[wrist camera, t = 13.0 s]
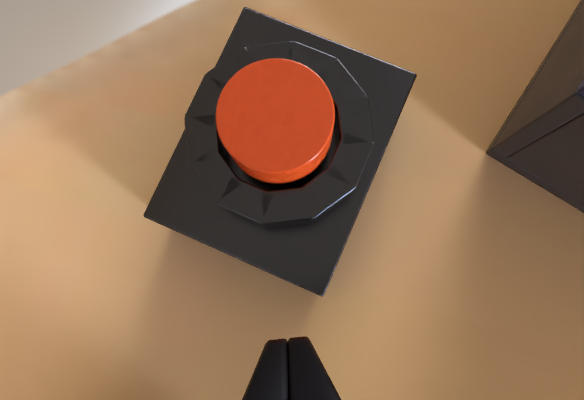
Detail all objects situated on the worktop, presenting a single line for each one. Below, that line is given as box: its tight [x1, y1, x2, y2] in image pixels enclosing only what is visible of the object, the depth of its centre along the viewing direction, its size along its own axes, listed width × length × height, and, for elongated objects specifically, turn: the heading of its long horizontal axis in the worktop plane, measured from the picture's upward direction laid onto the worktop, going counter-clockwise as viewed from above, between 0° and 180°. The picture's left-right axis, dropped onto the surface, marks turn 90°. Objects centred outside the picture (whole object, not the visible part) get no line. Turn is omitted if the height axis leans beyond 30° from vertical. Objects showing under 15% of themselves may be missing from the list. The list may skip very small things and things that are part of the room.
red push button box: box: [144, 7, 416, 296], centre depth 20 cm, size 10×8×6 cm
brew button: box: [216, 58, 335, 184], centre depth 16 cm, size 4×4×2 cm
